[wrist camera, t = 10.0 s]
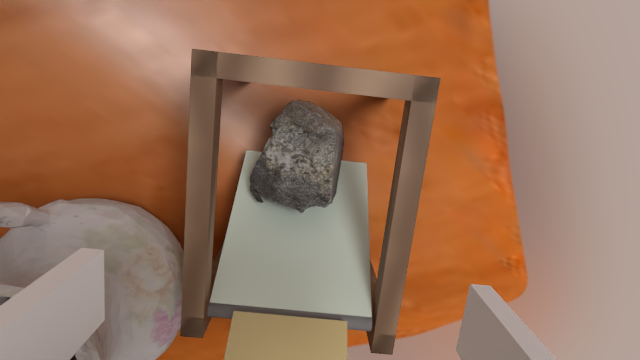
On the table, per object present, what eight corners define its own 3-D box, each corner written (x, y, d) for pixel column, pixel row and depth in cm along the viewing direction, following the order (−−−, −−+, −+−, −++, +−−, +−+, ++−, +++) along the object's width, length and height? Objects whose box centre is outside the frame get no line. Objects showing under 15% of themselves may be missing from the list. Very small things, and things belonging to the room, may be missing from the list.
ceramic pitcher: (19, 197, 49) (-288, 318, 25) (153, 130, 46) (-50, 196, 22) (113, 338, 54) (-69, 553, 30) (241, 286, 51) (151, 479, 27)
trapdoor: (196, 379, 31) (190, 367, 29) (247, 162, 46) (246, 143, 44) (368, 394, 32) (376, 383, 29) (363, 174, 47) (368, 156, 44)
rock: (329, 231, 38) (332, 187, 33) (239, 217, 39) (230, 172, 34) (346, 135, 47) (351, 88, 42) (273, 125, 47) (270, 78, 42)
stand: (225, 251, 50) (180, 335, 33) (237, 63, 45) (191, 48, 28) (365, 264, 51) (392, 354, 34) (392, 81, 46) (440, 78, 29)
